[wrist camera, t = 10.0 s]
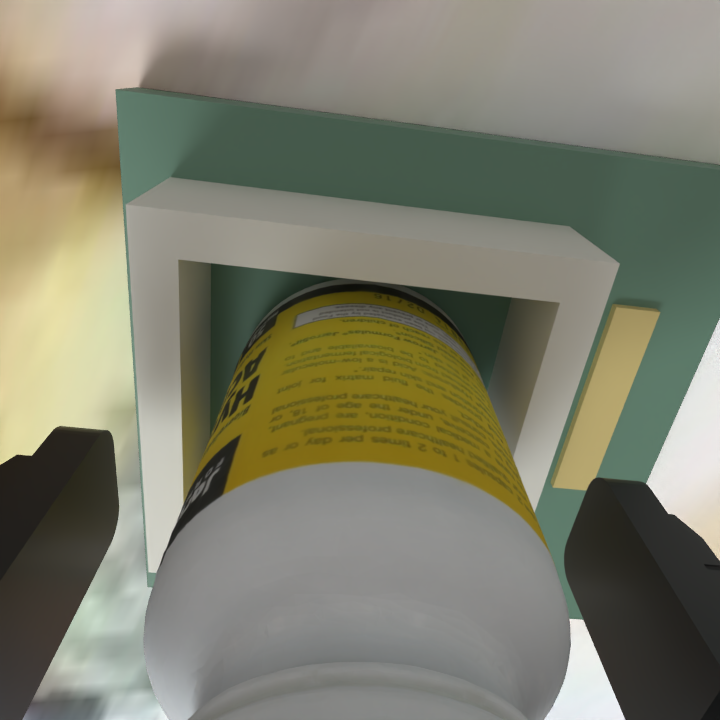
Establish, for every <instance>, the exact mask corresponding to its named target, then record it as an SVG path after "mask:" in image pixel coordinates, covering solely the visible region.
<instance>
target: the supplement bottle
mask: <svg viewBox="0 0 720 720" xmlns="http://www.w3.org/2000/svg"><path fill="white" fill-rule="evenodd" d="M570 646H571V640H570V621H569V612H568V607H567V603H566V599H565V596H564V593H563V589H562V586H561V583H560V580H559V577H558V574H557V571H556V567H555V564H554V561H553V559H552V556H551V554H550V551H549V548H548V546H547V543H546V541H545V538H544V535H543V533H542V530H541V528H540V525H539V523H538V520H537V518H536V515H535V513H534V510H533V508H532V505H531V503H530V500H529V498H528V495H527V493H526V490H525V488H524V485H523V483H522V480H521V477H520V475H519V472H518V469H517V467H516V465H515V462H514V459H513V457H512V454H511V451H510V449H509V446H508V444H507V441H506V439H505V436H504V434H503V431H502V429H501V426H500V424H499V421H498V419H497V416H496V414H495V411H494V409H493V406H492V403H491V401H490V398H489V396H488V393H487V391H486V388H485V386H484V383H483V380H482V378H481V375H480V372H479V370H478V367H477V365H476V363H475V360H474V358H473V356H472V354H471V351H470V349H469V347H468V345H467V343H466V341H465V339H464V337H463V335H462V334H461V332H460V331H459V329H458V328H457V326H456V325H455V323H454V322H453V321H452V320H451V319H450V317H449V316H448V315H447V314H446V313H445V312H444V311H443V310H442V309H440V308H439V307H438V306H437V305H436V304H434V303H433V302H432V301H430V300H429V299H427V298H426V297H424V296H422V295H421V294H419V293H417V292H415V291H413V290H411V289H409V288H407V287H404V286H401V285H399V284H390V283H381V282H372V281H363V280H355V279H337V280H332V281H327V282H323V283H319V284H316V285H313V286H310V287H307V288H305V289H303V290H301V291H299V292H297V293H295V294H293V295H291V296H289V297H288V298H286V299H285V300H283V301H282V302H281V303H279V304H278V305H277V306H275V307H274V308H273V309H272V310H271V311H270V312H269V313H268V314H267V315H266V316H265V317H264V318H263V319H262V321H261V322H260V323H259V324H258V326H257V327H256V329H255V330H254V332H253V333H252V335H251V337H250V339H249V340H248V342H247V344H246V346H245V348H244V350H243V352H242V354H241V356H240V358H239V360H238V363H237V365H236V368H235V371H234V375H233V378H232V381H231V384H230V386H229V388H228V391H227V394H226V396H225V399H224V401H223V404H222V407H221V409H220V412H219V415H218V417H217V420H216V423H215V425H214V428H213V431H212V433H211V436H210V439H209V441H208V443H207V446H206V449H205V451H204V454H203V456H202V459H201V461H200V464H199V466H198V469H197V472H196V474H195V477H194V479H193V482H192V484H191V487H190V489H189V492H188V495H187V497H186V500H185V502H184V504H183V507H182V510H181V512H180V515H179V517H178V520H177V522H176V525H175V527H174V529H173V531H172V533H171V536H170V539H169V542H168V545H167V548H166V550H165V551H164V553H163V557H162V560H161V563H160V566H159V568H158V570H157V573H156V576H155V582H154V585H153V589H152V592H151V595H150V598H149V602H148V606H147V610H146V616H145V626H144V655H145V660H146V669H147V672H148V676H149V679H150V682H151V685H152V688H153V691H154V694H155V696H156V698H157V700H158V702H159V704H160V706H161V708H162V709H163V711H164V713H165V714H166V716H167V717H168V719H169V720H544V719H545V717H546V716H547V714H548V713H549V711H550V710H551V708H552V706H553V704H554V702H555V700H556V698H557V696H558V694H559V692H560V689H561V687H562V684H563V682H564V679H565V675H566V671H567V666H568V661H569V654H570Z"/></svg>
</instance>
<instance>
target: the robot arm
mask: <svg viewBox="0 0 720 720" xmlns="http://www.w3.org/2000/svg"><path fill="white" fill-rule="evenodd" d="M118 514H119V498H118V487H117V476H116V464H115V453H114V443H113V437H112V435H111V433H110V432H109V431H108V430H97V429H86V428H75V427H65V426H59V427H57V428H55V429H54V430H53V431H52V432H51V433H50V435H49V436H48V437H47V438H46V439H45V441H44V442H43V443H42V444H41V446H40V447H39V448H38V449H37V450H36V452H35V453H34V454H33V455H32V456H25V455H16V456H14V457H13V458H11V459H9V460H8V461H6V462H5V463H3V464H1V465H0V720H22V719H23V717H24V715H25V713H26V711H27V709H28V707H29V705H30V703H31V701H32V699H33V697H34V695H35V693H36V691H37V689H38V687H39V685H40V683H41V681H42V679H43V677H44V675H45V673H46V671H47V669H48V667H49V665H50V663H51V661H52V659H53V657H54V656H55V654H56V652H57V650H58V648H59V646H60V644H61V642H62V640H63V638H64V636H65V634H66V632H67V630H68V628H69V626H70V624H71V622H72V620H73V618H74V616H75V614H76V612H77V610H78V608H79V606H80V604H81V602H82V600H83V598H84V596H85V594H86V592H87V590H88V588H89V586H90V584H91V582H92V580H93V578H94V576H95V574H96V572H97V570H98V568H99V566H100V564H101V562H102V560H103V558H104V556H105V554H106V552H107V550H108V548H109V546H110V544H111V542H112V539H113V537H114V534H115V530H116V526H117V521H118ZM564 568H565V574H566V578H567V581H568V584H569V586H570V589H571V591H572V593H573V596H574V598H575V600H576V603H577V605H578V608H579V610H580V612H581V615H582V617H583V620H584V622H585V624H586V627H587V629H588V631H589V634H590V636H591V639H592V641H593V643H594V646H595V648H596V651H597V653H598V655H599V658H600V660H601V662H602V665H603V667H604V670H605V672H606V674H607V677H608V679H609V682H610V684H611V686H612V689H613V691H614V693H615V696H616V698H617V701H618V703H619V705H620V708H621V710H622V713H623V715H624V717H625V720H720V561H719V560H718V558H717V557H716V556H715V554H714V553H713V552H712V550H711V549H710V548H709V546H708V545H707V544H706V542H705V541H704V539H703V538H701V537H700V536H699V535H698V534H697V533H695V532H694V531H693V530H692V529H691V528H689V527H688V526H687V525H686V524H685V523H683V522H682V521H681V520H680V519H679V518H677V517H676V516H675V515H672V514H668V513H667V512H666V510H665V509H664V507H663V506H662V505H661V503H660V502H659V500H658V499H657V498H656V496H655V495H654V493H653V492H652V490H651V489H650V488H649V487H648V485H646V484H645V483H644V482H641V481H633V480H622V479H611V478H600V477H598V478H595V479H593V480H592V481H591V483H590V484H589V486H588V488H587V491H586V493H585V496H584V498H583V501H582V503H581V506H580V509H579V511H578V514H577V516H576V519H575V521H574V524H573V527H572V529H571V532H570V534H569V537H568V539H567V542H566V546H565V551H564Z"/></svg>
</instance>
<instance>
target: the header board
mask: <svg viewBox="0 0 720 720" xmlns="http://www.w3.org/2000/svg"><path fill="white" fill-rule="evenodd" d="M116 103H117V119H118V134H119V150H120V165H121V181H122V196H123V212H124V228H125V243H126V259H127V274H128V290H129V305H130V321H131V336H132V352H133V368H134V383H135V399H136V414H137V430H138V445H139V461H140V476H141V492H142V508H143V523H144V539H145V554H146V570H147V585H148V587H153V585H154V582H155V576H156V573H157V570H158V568H159V566H160V563H161V560H162V557H163V553H164V551H165V550H166V548H167V545H168V542H169V539H170V536H171V533H172V531H173V529H174V527H175V525H176V522H177V520H178V517H179V515H180V512H181V510H182V507H183V504H184V502H185V500H186V497H187V495H188V492H189V489H190V487H191V484H192V482H193V479H194V477H195V474H196V472H197V469H198V466H199V464H200V461H201V459H202V456H203V454H204V451H205V449H206V446H207V443H208V441H209V439H210V436H211V433H212V431H213V428H214V425H215V423H216V420H217V417H218V415H219V412H220V409H221V407H222V404H223V401H224V399H225V396H226V394H227V391H228V388H229V386H230V384H231V381H232V378H233V375H234V371H235V368H236V365H237V363H238V360H239V358H240V356H241V354H242V352H243V350H244V348H245V346H246V344H247V342H248V340H249V339H250V337H251V335H252V333H253V332H254V330H255V329H256V327H257V326H258V324H259V323H260V322H261V321H262V319H263V318H264V317H265V316H266V315H267V314H268V313H269V312H270V311H271V310H272V309H273V308H274V307H275V306H277V305H278V304H279V303H281V302H282V301H283V300H285V299H286V298H288V297H289V296H291V295H293V294H295V293H297V292H299V291H301V290H303V289H305V288H307V287H310V286H313V285H316V284H319V283H323V282H327V281H332V280H337V279H355V280H363V281H372V282H381V283H390V284H399V285H401V286H404V287H407V288H409V289H411V290H413V291H415V292H417V293H419V294H421V295H422V296H424V297H426V298H427V299H429V300H430V301H432V302H433V303H434V304H436V305H437V306H438V307H439V308H440V309H442V310H443V311H444V312H445V313H446V314H447V315H448V316H449V317H450V319H451V320H452V321H453V322H454V323H455V325H456V326H457V328H458V329H459V331H460V332H461V334H462V335H463V337H464V339H465V341H466V343H467V345H468V347H469V349H470V351H471V354H472V356H473V358H474V360H475V363H476V365H477V367H478V370H479V372H480V375H481V378H482V380H483V383H484V386H485V388H486V391H487V393H488V396H489V398H490V401H491V403H492V406H493V409H494V411H495V414H496V416H497V419H498V421H499V424H500V426H501V429H502V431H503V434H504V436H505V439H506V441H507V444H508V446H509V449H510V451H511V454H512V457H513V459H514V462H515V465H516V467H517V469H518V472H519V475H520V477H521V480H522V483H523V485H524V488H525V490H526V493H527V495H528V498H529V500H530V503H531V505H532V508H533V510H534V513H535V515H536V518H537V520H538V523H539V525H540V528H541V530H542V533H543V535H544V538H545V541H546V543H547V546H548V548H549V551H550V554H551V556H552V559H553V561H554V564H555V567H556V571H557V574H558V577H559V580H560V583H561V586H562V589H563V593H564V596H565V599H566V603H567V607H568V612H569V619H582V620H583V617H582V615H581V612H580V610H579V608H578V605H577V603H576V600H575V598H574V596H573V593H572V591H571V589H570V586H569V584H568V581H567V578H566V574H565V568H564V551H565V546H566V542H567V539H568V537H569V534H570V532H571V529H572V527H573V524H574V521H575V519H576V516H577V514H578V511H579V509H580V506H581V503H582V501H583V498H584V496H585V493H586V491H587V488H588V486H589V484H590V483H591V481H592V480H593V479H595V478H598V477H600V478H611V479H622V480H633V481H641V482H644V483H645V484H646V482H647V480H648V478H649V475H650V473H651V471H652V469H653V466H654V464H655V462H656V460H657V458H658V455H659V453H660V451H661V449H662V446H663V444H664V442H665V440H666V437H667V435H668V433H669V431H670V428H671V426H672V424H673V422H674V419H675V417H676V415H677V413H678V410H679V408H680V406H681V404H682V401H683V399H684V397H685V395H686V392H687V390H688V388H689V386H690V383H691V381H692V379H693V377H694V374H695V372H696V370H697V368H698V365H699V363H700V361H701V359H702V357H703V354H704V352H705V350H706V348H707V345H708V343H709V341H710V339H711V336H712V334H713V332H714V330H715V327H716V325H717V323H718V321H719V318H720V165H716V164H708V163H701V162H693V161H686V160H678V159H671V158H663V157H656V156H648V155H641V154H633V153H626V152H618V151H611V150H603V149H596V148H588V147H581V146H573V145H566V144H558V143H551V142H543V141H536V140H529V139H521V138H514V137H506V136H499V135H491V134H484V133H476V132H469V131H461V130H454V129H446V128H439V127H431V126H424V125H416V124H409V123H401V122H394V121H386V120H379V119H371V118H364V117H356V116H349V115H341V114H334V113H326V112H319V111H311V110H304V109H296V108H289V107H281V106H274V105H266V104H259V103H251V102H244V101H236V100H229V99H221V98H214V97H206V96H199V95H191V94H184V93H176V92H169V91H161V90H154V89H146V88H139V87H136V88H126V89H116Z"/></svg>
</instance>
